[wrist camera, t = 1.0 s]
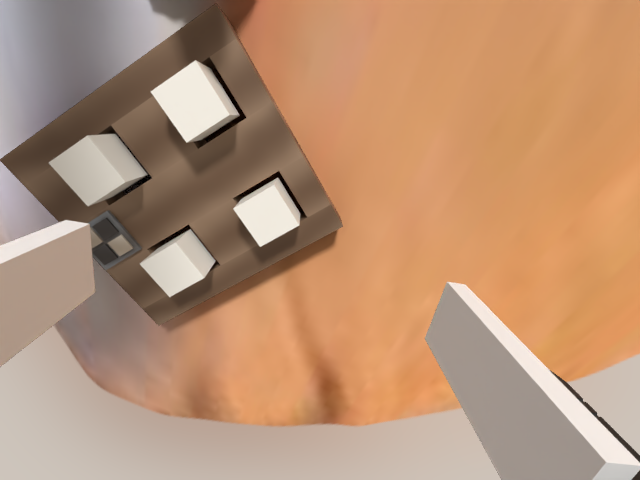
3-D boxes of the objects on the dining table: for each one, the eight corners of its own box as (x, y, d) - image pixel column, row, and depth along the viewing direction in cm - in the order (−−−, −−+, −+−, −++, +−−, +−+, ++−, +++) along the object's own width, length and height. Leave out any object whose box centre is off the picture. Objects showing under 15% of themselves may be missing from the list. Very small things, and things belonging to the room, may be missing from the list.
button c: (171, 95, 24) (150, 91, 21) (210, 68, 24) (195, 60, 21) (201, 139, 26) (186, 142, 23) (239, 115, 25) (229, 114, 22)
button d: (241, 198, 28) (233, 208, 25) (277, 177, 27) (273, 184, 24) (265, 233, 29) (260, 247, 26) (300, 213, 29) (299, 225, 25)
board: (30, 155, 28) (-7, 160, 25) (226, 16, 25) (214, 0, 21) (170, 309, 35) (156, 328, 32) (340, 217, 31) (343, 228, 28)
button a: (80, 157, 26) (48, 162, 23) (115, 133, 25) (87, 135, 22) (114, 196, 27) (87, 206, 24) (147, 174, 27) (125, 182, 24)
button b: (157, 247, 29) (139, 263, 26) (190, 228, 29) (175, 242, 26) (184, 278, 31) (169, 297, 28) (215, 260, 30) (204, 277, 27)
